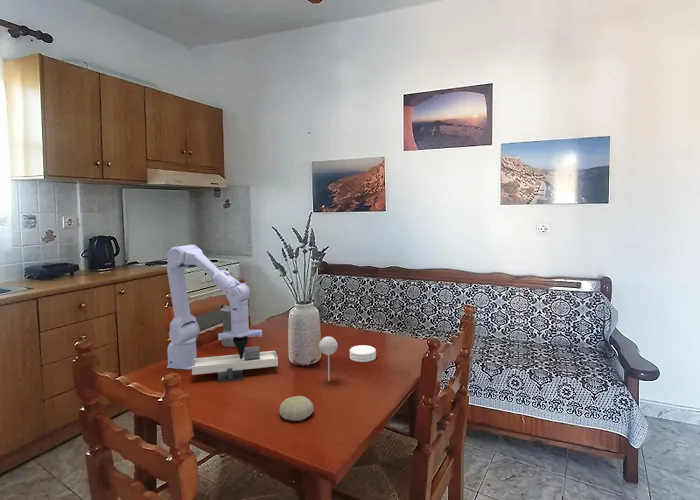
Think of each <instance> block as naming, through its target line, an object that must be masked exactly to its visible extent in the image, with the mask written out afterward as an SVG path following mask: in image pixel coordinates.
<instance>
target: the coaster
mask: <svg viewBox="0 0 700 500" xmlns="http://www.w3.org/2000/svg"><path fill="white" fill-rule="evenodd" d="M376 358H377V349H376V348H375V347H373V346H371V345H364V344H362V345H361V344H360V345H355V346H352V347H351V348H350V349H349V359H350V360H352V361H354V362H358V363H369V362H372V361H374V360H376Z"/></svg>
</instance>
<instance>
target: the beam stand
mask: <svg viewBox="0 0 700 500" xmlns="http://www.w3.org/2000/svg"><path fill="white" fill-rule="evenodd" d="M243 377H244V376H243V370H234V371H232V368H229V369H227V371H225V372H217V383H224V382H225V383H228V382H234V381H242V380H243V381H244V379H243Z"/></svg>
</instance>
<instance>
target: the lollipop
mask: <svg viewBox="0 0 700 500" xmlns="http://www.w3.org/2000/svg"><path fill="white" fill-rule="evenodd" d="M338 346H339V344H338V342H337V340H336V339H335V338H334V337H333V336H329V335H327V336H324V337H322V339H321V340H320V342H319V344H318V348H319V350H320V352H321V353H322V354H324V355H326V356H327V375H328V378H327V380H328V381H327V382H330V381H331V380H330V379H331V377H330V372H331V371H330V368H331V367H330V355H333V354H335V352H336V351H337V349H338Z"/></svg>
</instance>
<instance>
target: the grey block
mask: <svg viewBox="0 0 700 500" xmlns="http://www.w3.org/2000/svg"><path fill="white" fill-rule="evenodd" d="M260 352H261V350H260V347H259V345H258V346H257V345H256V346H255V345H253V346H245V349H244V352H243V354H244V359H245V361H250V360H260Z"/></svg>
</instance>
